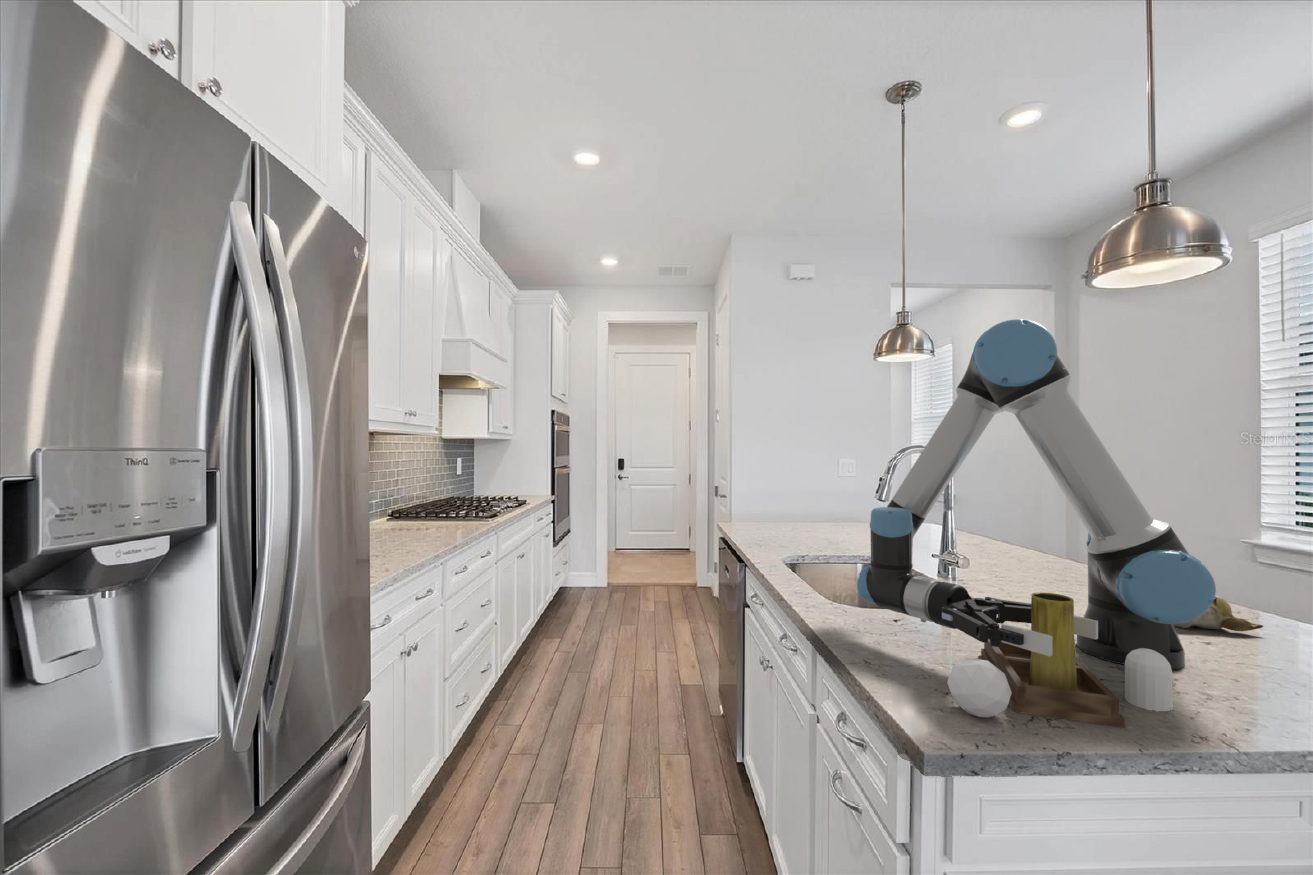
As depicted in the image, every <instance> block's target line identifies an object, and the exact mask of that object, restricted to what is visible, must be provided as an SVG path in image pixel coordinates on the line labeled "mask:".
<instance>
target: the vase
mask: <svg viewBox="0 0 1313 875" xmlns="http://www.w3.org/2000/svg"><path fill="white" fill-rule="evenodd" d="M1030 598H1031V599H1030V601H1031V602H1030V604H1031V623H1030V624H1031V625H1030V626H1031V627H1030V630H1031V631H1035V632H1039V633H1043V634H1046V635H1050V636H1052V656H1046V655H1043V654H1040V653H1036V652H1033V651H1031V662H1030V679H1029V685H1032V686H1040V687H1048V688H1055V689H1063V690H1071V691H1077V675H1076V657H1077V656H1076V643H1075V641H1076V640H1075V634H1074V615H1075V613H1074V612H1075V611H1074V610H1075V608H1074V607H1075V602H1074V598H1072V597H1070V596H1068V595H1063V594H1060V593H1059V594H1058V593H1053V592H1042V591H1041V592H1039V591H1038V592H1033V593H1031V595H1030Z"/></svg>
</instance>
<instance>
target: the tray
mask: <svg viewBox="0 0 1313 875" xmlns="http://www.w3.org/2000/svg"><path fill="white" fill-rule="evenodd" d="M983 644H984V645H983V646H984V647H983V648H981V649H980V655H981V658H982V660H987V661H989V662H990V663H992V664H993V665H994V666H995V667H997V668H998V669H999V670H1000V671H1002V672H1003V673H1004V674H1005V676H1006V679H1007V681H1008V684H1009V687H1010V689H1011V692H1012V693H1011V697H1010V700H1009V703H1008V705H1009V706H1010V707H1011V710H1012V712H1014V713H1021V714H1028V715H1034V716H1035V715H1036V716H1042V717H1049V718H1056V719H1057V718H1058V719H1063V720H1070V721H1076V722H1083V723H1084V722H1085V723H1091V724H1098V725H1106V726H1113V727H1117V728H1125V725H1126V724H1125V717H1124V716H1123V715H1122V714H1121V700H1120V698H1119V697H1118V696H1117V695H1116V694H1115V693H1114V692H1113V691H1112V690H1111V689H1110V688H1109V687H1108V686H1107V685H1106V684H1105V683H1104V682H1102V680H1101V679H1100V678H1098V676H1096V675H1095V673H1093V671H1091V669H1089V667H1088V666H1087V665H1085V664H1084V663H1083V661H1081V660H1080V659H1079V657H1077V656H1076V675H1077V691H1071V690H1063V689H1055V688H1048V687H1040V686H1032V685H1029V679H1030V662H1031V651H1029V650H1026V649H1023V648H1019V647H1016V646H1013V645H1009V644H1006V643H1003V642H1001V640H999V647H994V646H991V645H990V639H988V642H985V643H983Z"/></svg>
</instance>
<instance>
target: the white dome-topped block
mask: <svg viewBox="0 0 1313 875" xmlns="http://www.w3.org/2000/svg"><path fill="white" fill-rule="evenodd" d="M1173 686H1174V685H1173V669H1171V665H1170V663H1169V662H1168V661H1167V659H1166V658H1165V657H1164V656H1163V655H1161V654H1159V653H1158V652H1156V651H1154V650H1151V649H1146V648H1140V649H1136V650H1133V651H1131V652H1130V653H1129V654H1128V655H1127V656H1126V660H1125V664H1124V698H1125V701H1126V702H1128V703H1129V704H1131V705H1133V706H1135V707H1137V708H1140V709H1144V710H1147V711H1152V710H1155V711H1154V712H1159V711H1170V710H1171V711H1173V710H1174V709H1173V705H1174V703H1173V697H1174V695H1173ZM1171 711H1170V712H1171Z"/></svg>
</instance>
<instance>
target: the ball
mask: <svg viewBox="0 0 1313 875" xmlns="http://www.w3.org/2000/svg"><path fill="white" fill-rule="evenodd" d="M946 683H947V685H948V686H947V687H948V688H949V691H950V694H951V698H952V700H953V701H954V702H955V703H956V705H958V706H959V707H960V708H961V709H963V710H964V711H965V712H966V713H967V714H969V715H972V716H976V717H978V718H989V719H990V718H991V717H994V716H997V715H999V714H1001V713H1002V712H1004V711H1006V710H1007V708H1008V705H1009V700H1010V697H1011V693H1012V692H1011V689H1010V687H1009V684H1008V681H1007V679H1006V676H1005V674H1004V673H1003V672H1002V671H1000V670H999V669H998V668H997V667H995V666H994V665H993V664H992V663H990V662H989V661H987V660H984V659H979V658H973V657H967V658H965V659H963V660H962V661H960V662H958V663H956V664H954V665H952V668H951V671H950V673H949V676H948V679H947V682H946Z"/></svg>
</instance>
